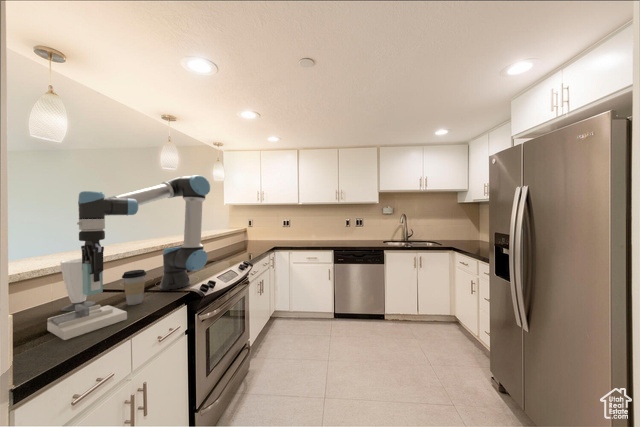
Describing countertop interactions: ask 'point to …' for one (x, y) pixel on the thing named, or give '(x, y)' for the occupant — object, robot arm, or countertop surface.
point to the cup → (74, 283)
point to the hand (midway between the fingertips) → (92, 288)
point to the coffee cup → (134, 286)
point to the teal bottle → (89, 279)
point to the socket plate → (87, 321)
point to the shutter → (73, 314)
